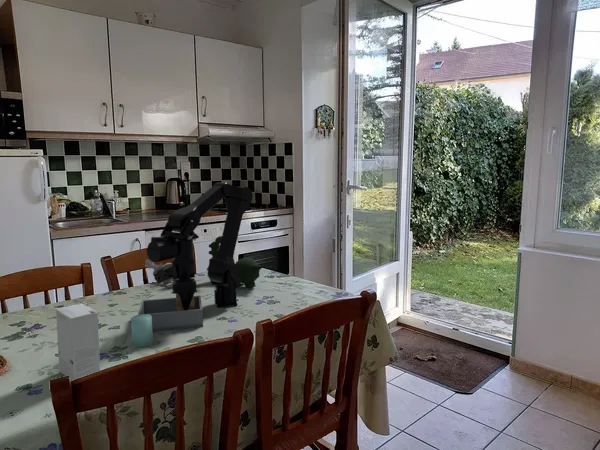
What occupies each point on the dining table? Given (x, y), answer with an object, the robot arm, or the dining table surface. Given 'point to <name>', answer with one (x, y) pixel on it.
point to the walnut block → (180, 306)
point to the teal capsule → (142, 330)
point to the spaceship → (151, 265)
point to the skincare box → (78, 340)
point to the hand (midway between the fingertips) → (185, 307)
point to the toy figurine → (240, 266)
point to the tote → (172, 314)
